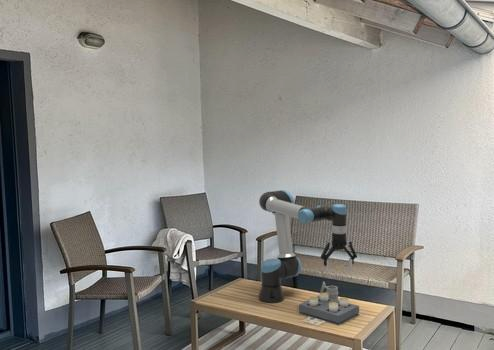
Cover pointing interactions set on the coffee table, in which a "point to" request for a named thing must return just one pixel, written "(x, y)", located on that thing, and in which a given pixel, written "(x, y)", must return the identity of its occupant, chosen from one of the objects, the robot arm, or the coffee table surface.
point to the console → (325, 315)
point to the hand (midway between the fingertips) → (338, 271)
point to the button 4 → (343, 302)
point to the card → (314, 321)
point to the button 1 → (313, 301)
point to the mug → (330, 291)
